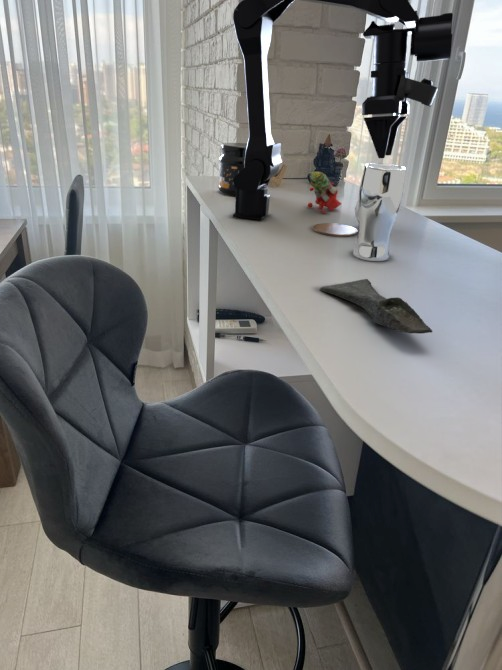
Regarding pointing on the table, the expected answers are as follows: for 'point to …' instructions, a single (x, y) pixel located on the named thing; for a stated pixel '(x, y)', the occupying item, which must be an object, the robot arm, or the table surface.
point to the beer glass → (378, 209)
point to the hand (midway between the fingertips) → (384, 156)
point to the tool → (380, 306)
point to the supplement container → (230, 166)
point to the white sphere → (357, 211)
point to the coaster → (335, 229)
